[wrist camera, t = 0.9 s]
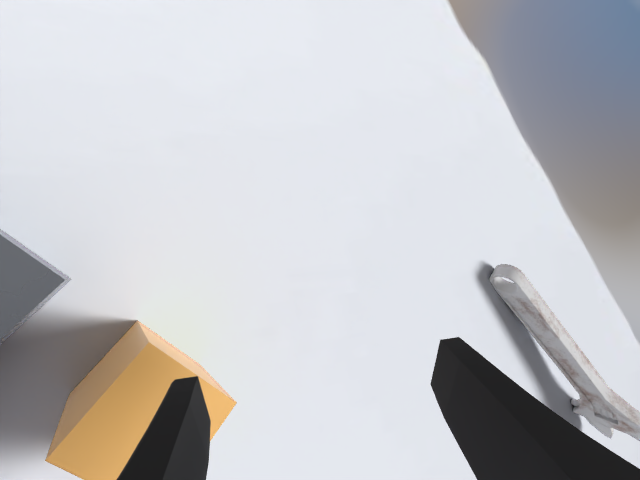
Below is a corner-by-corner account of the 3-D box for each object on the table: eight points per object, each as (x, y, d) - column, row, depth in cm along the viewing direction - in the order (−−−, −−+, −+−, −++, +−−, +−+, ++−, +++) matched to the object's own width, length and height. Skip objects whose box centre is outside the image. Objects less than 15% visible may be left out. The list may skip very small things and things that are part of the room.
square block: (143, 436, 18) (158, 516, 12) (69, 394, 17) (45, 460, 11) (199, 364, 20) (236, 402, 14) (137, 320, 18) (148, 342, 12)
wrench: (469, 267, 39) (598, 428, 45) (462, 278, 38) (594, 441, 44) (540, 258, 32) (682, 451, 38) (534, 272, 31) (680, 467, 37)
